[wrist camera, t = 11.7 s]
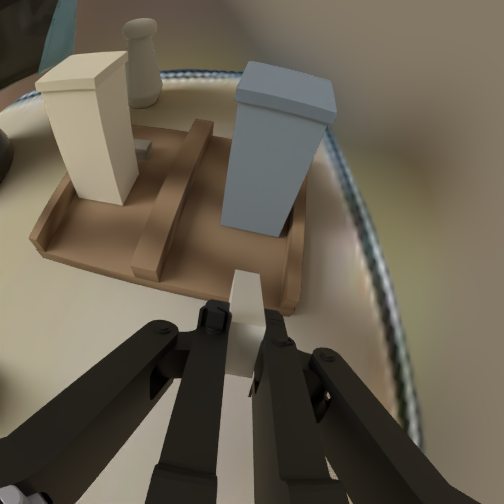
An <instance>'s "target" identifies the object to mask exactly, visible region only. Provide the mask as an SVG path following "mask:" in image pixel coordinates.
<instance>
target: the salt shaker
mask: <svg viewBox="0 0 504 504" xmlns="http://www.w3.org/2000/svg"><path fill="white" fill-rule="evenodd" d="M156 31H157V23H156V21H154V20H153V19H149V18H141V19H136V20H132V21H130V22H127V23H126V24H125V25H124V27H123V36H124V38H125V39H128V40H127V47H126V51H128V61H127V62H126V63H125V72H126V84H127V94H128V103H129V104H130V105H131V106H132V107H133V108H147V107H148V106H150V105H152V104H154V103H156V101H157V99H158V96H159V94H160V92H161V89H162V85H163V84H162V80H161V76H160V72H159V68H158V64H157V60H156V56H155V52H154V48H153V44H152V39H151V36H153V35H154V34H155V33H156Z"/></svg>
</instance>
